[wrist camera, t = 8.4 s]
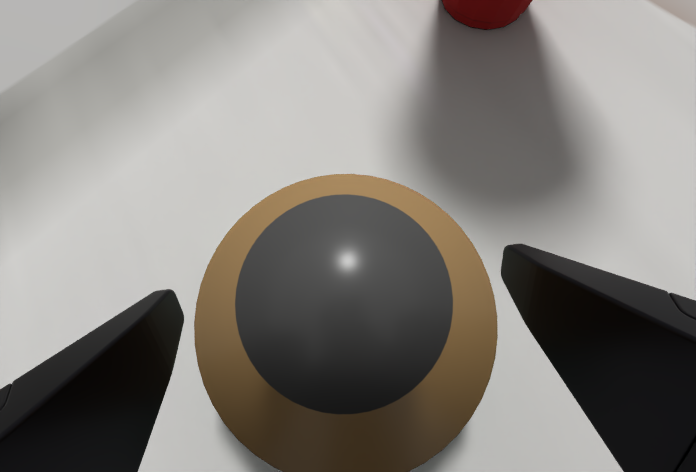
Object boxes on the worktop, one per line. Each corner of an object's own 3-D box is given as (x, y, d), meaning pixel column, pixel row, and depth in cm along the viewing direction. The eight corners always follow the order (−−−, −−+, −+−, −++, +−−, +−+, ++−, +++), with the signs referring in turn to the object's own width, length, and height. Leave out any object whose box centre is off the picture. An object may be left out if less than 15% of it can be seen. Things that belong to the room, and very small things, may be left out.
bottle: (401, 390, 15) (614, 590, 3) (290, 384, 16) (55, 559, 3) (401, 279, 17) (543, 109, 4) (299, 275, 17) (165, 96, 5)
